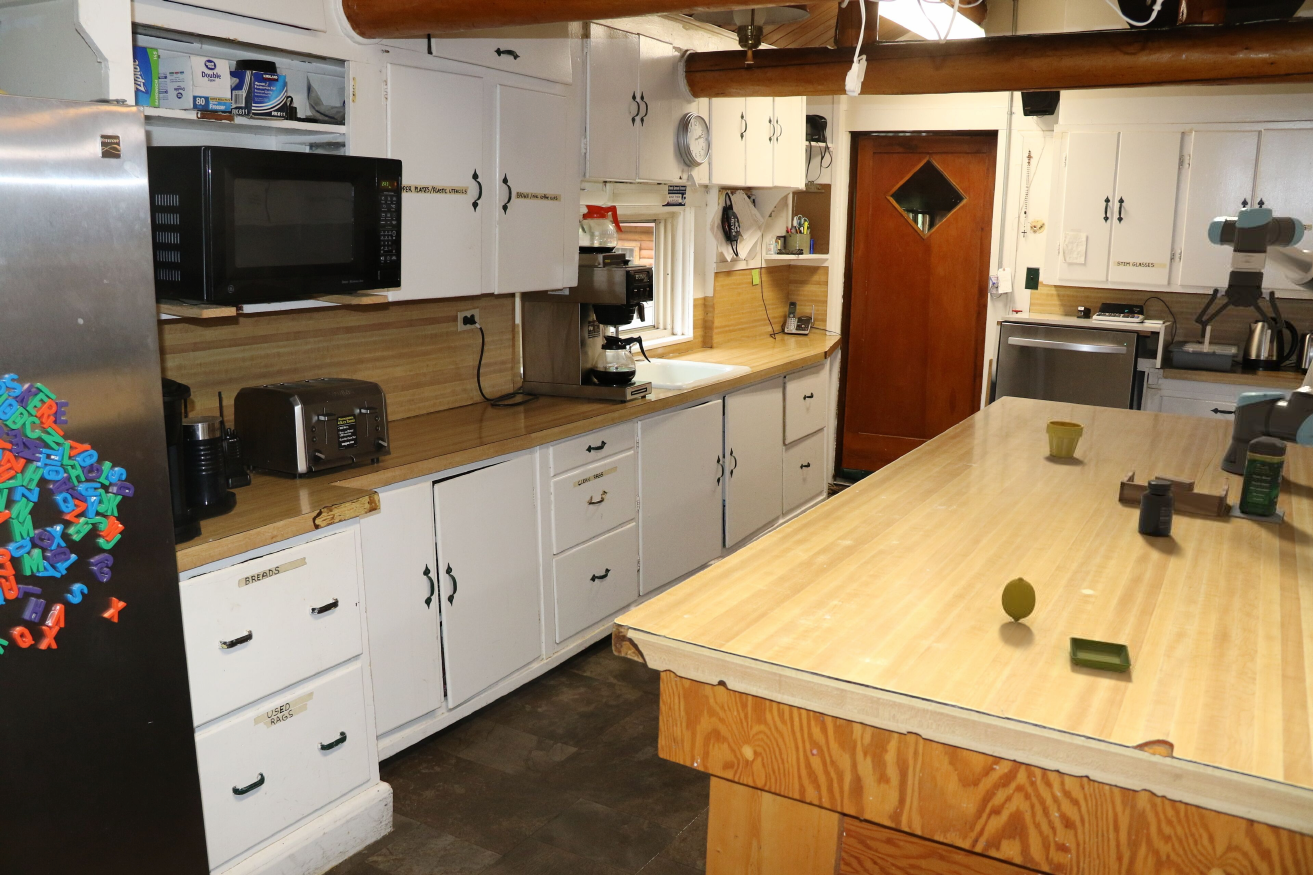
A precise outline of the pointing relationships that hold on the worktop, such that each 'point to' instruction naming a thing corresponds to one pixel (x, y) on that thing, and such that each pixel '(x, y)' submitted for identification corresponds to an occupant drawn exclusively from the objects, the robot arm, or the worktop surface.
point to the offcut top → (1177, 482)
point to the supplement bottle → (1156, 509)
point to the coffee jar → (1262, 476)
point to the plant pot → (1063, 437)
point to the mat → (1273, 518)
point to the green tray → (1099, 654)
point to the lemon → (1018, 599)
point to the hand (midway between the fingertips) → (1235, 353)
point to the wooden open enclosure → (1177, 497)
